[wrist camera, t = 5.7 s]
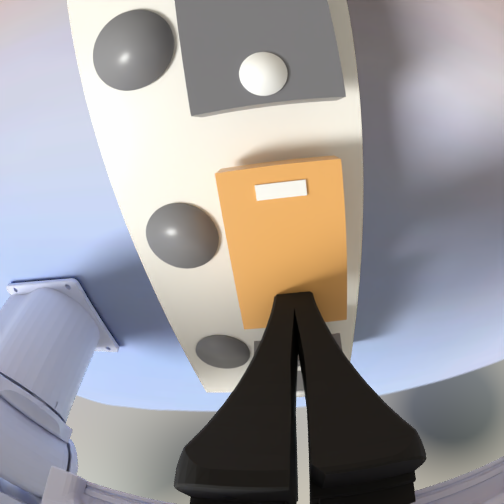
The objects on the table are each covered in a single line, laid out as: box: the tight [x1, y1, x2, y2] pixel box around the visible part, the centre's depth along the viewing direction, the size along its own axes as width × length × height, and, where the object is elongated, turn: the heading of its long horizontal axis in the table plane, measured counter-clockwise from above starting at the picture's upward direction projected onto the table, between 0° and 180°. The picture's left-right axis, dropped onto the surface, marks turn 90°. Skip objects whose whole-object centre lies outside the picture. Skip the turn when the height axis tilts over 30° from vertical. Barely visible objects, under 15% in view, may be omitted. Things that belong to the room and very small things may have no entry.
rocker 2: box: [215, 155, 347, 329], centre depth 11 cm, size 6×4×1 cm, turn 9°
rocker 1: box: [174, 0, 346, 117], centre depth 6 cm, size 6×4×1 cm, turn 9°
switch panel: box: [67, 0, 363, 392], centre depth 15 cm, size 31×10×4 cm, turn 9°
